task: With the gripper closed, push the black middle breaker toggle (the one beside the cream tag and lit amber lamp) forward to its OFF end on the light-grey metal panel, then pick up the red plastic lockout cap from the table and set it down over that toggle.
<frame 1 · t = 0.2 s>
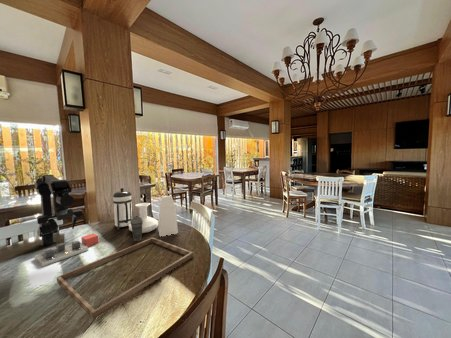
hand: (62, 231, 106), 14 cm above the table, fingers open, 9 cm apart
coffee press: (124, 226, 150), on the table
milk: (167, 232, 139), on the table
serving tray rim: (132, 268, 95), on the table
candle holder: (144, 230, 143), on the table
lockout cap: (90, 243, 122), on the table
breaker 3: (76, 244, 112), point 4 cm above the table, slide at 4.0 cm
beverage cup: (137, 239, 127), on the table
breaker 1: (48, 253, 102), point 4 cm above the table, slide at 4.0 cm
breaker 2: (60, 247, 109), point 4 cm above the table, slide at 0.0 cm
panel: (62, 254, 108), on the table
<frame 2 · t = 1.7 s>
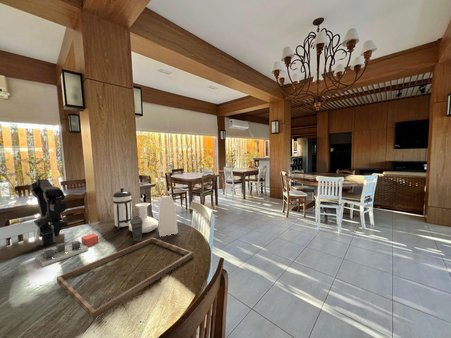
hand: (56, 236, 112), 8 cm above the table, fingers closed
nothing on the table moved.
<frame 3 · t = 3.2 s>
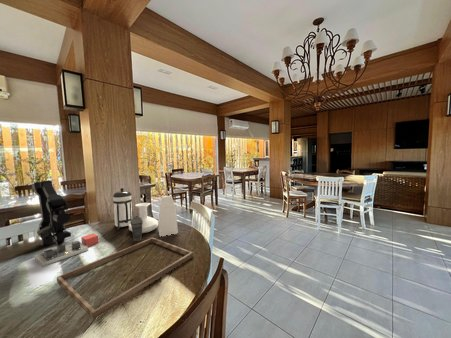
hand: (59, 247, 110), 3 cm above the table, fingers closed
breaker 2: (61, 247, 109), point 4 cm above the table, slide at 0.9 cm, touching gripper
everything else where it was.
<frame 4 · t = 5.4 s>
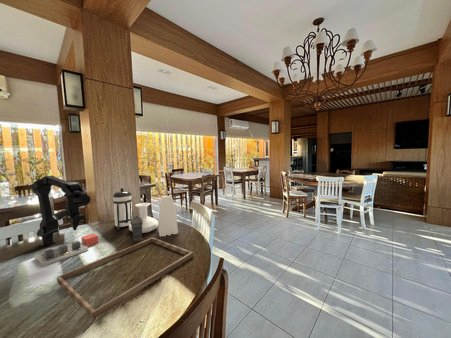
hand: (74, 229, 115), 11 cm above the table, fingers closed
breaker 2: (63, 249, 107), point 4 cm above the table, slide at 4.4 cm
everything else where it was.
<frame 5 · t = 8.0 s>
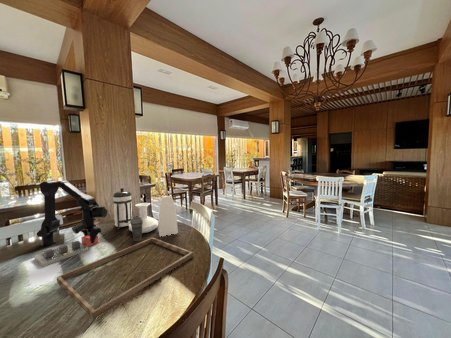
hand: (90, 241, 122), 1 cm above the table, fingers closed on lockout cap, 7 cm apart
lockout cap: (90, 243, 122), on the table, touching gripper
everything else where it was.
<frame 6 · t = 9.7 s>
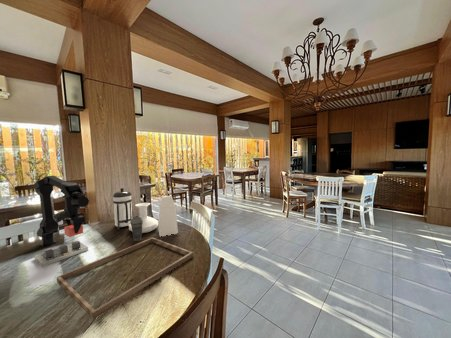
hand: (73, 232, 112), 11 cm above the table, fingers closed on lockout cap, 7 cm apart
lockout cap: (74, 233, 112), point 10 cm above the table, touching gripper
everything else where it was.
when the fingers open (4 cm above the table, at t = 11.8 s): lockout cap drops 1 cm, resting on panel.
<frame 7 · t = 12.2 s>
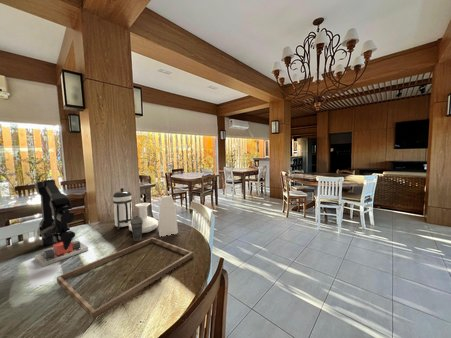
hand: (63, 247, 107), 4 cm above the table, fingers open, 9 cm apart
lockout cap: (63, 251, 107), point 2 cm above the table, touching panel
everything else where it was.
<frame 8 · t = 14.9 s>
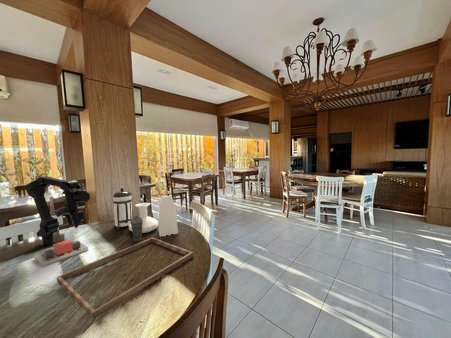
hand: (73, 226, 118), 12 cm above the table, fingers open, 9 cm apart
nothing on the table moved.
at the end: breaker 2 slide at 4.4 cm; lockout cap 0.4 cm from the breaker 2 (horizontally); lockout cap point 2.2 cm above the table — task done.
